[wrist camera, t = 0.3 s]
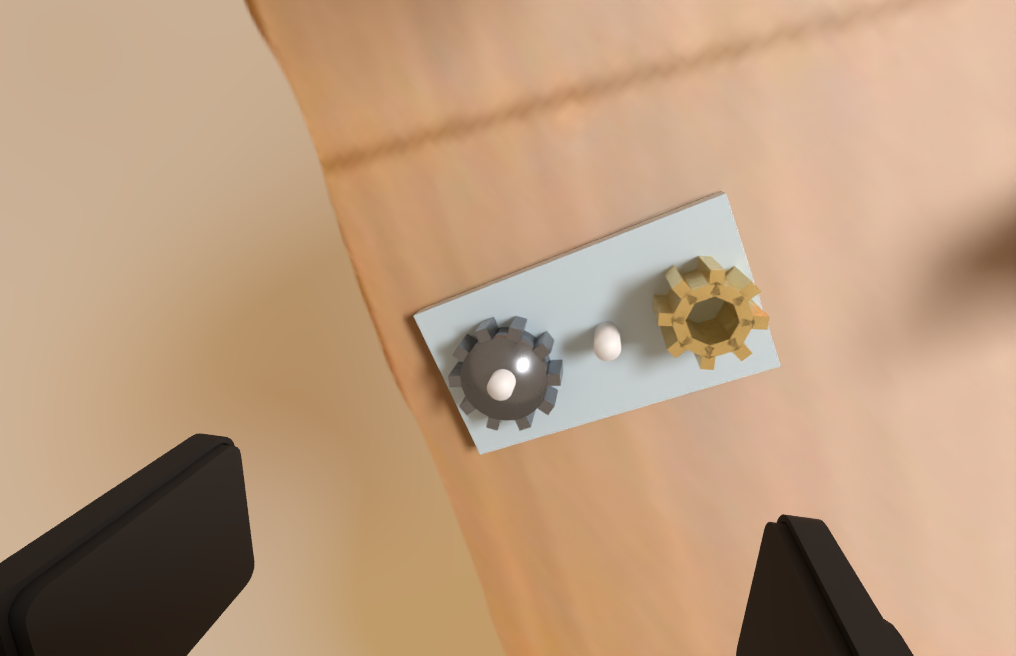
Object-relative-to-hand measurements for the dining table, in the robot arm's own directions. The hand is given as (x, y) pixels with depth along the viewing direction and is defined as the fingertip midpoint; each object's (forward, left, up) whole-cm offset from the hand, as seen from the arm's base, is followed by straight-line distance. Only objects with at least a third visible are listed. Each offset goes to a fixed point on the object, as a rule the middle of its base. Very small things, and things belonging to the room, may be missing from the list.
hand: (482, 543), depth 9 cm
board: (+8, -2, -35) cm, 36 cm away
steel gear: (+8, -9, -33) cm, 35 cm away
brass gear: (+8, +7, -33) cm, 35 cm away
